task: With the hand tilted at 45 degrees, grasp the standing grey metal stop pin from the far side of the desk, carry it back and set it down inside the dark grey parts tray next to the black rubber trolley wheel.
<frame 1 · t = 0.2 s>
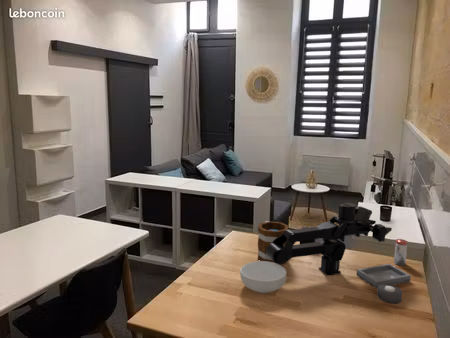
hand: (383, 225, 155), 17 cm above the table, tool horizontal, fingers open, 9 cm apart
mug: (270, 256, 164), on the table
tray: (382, 278, 144), on the table
trolley wheel: (389, 297, 130), on the table
battery: (307, 247, 175), on the table
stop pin: (399, 263, 157), on the table
cereal bowl: (262, 288, 137), on the table
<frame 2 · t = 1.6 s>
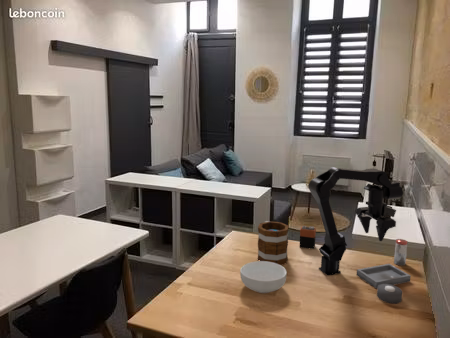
hand: (373, 236, 152), 13 cm above the table, tool pointing down, fingers open, 9 cm apart
nothing on the table moved.
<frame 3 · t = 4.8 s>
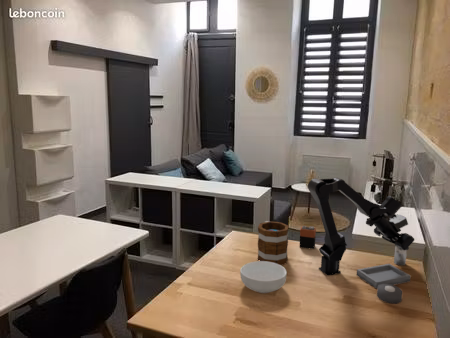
hand: (403, 247, 156), 7 cm above the table, tool tilted 45°, fingers closed on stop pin, 4 cm apart
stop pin: (399, 263, 157), on the table, touching gripper
everything else where it was.
when the fingers open (9 cm above the table, at t = 7.7 s): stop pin drops 1 cm, resting on tray.
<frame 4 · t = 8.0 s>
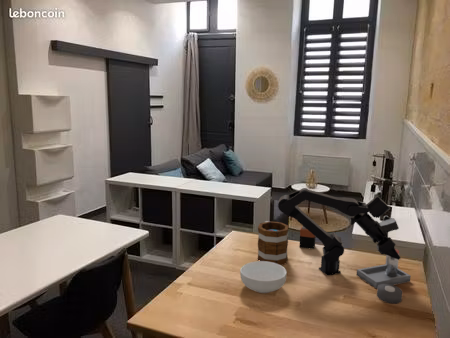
hand: (396, 254, 143), 10 cm above the table, tool tilted 45°, fingers open, 8 cm apart
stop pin: (391, 274, 145), point 1 cm above the table, touching tray
everything else where it was.
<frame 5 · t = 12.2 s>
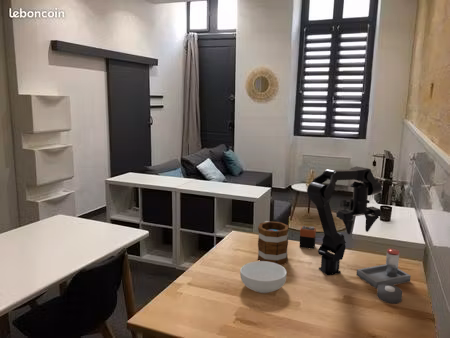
hand: (357, 232, 156), 13 cm above the table, tool pointing down, fingers open, 9 cm apart
nothing on the table moved.
at the end: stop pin inside the target area on the tray (3.9 cm from its centre), point 1.0 cm above the tray's base; the gripper is holding nothing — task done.
